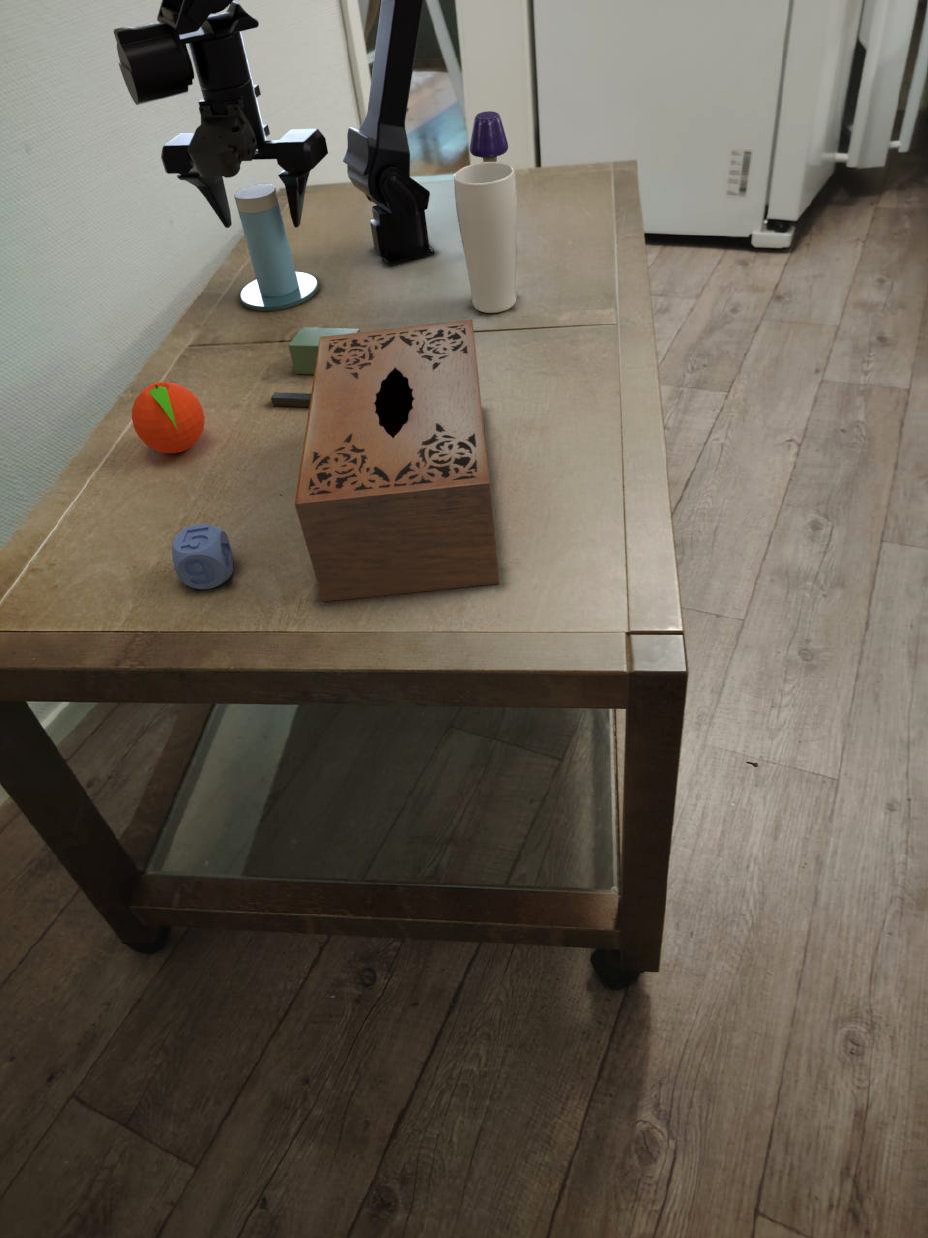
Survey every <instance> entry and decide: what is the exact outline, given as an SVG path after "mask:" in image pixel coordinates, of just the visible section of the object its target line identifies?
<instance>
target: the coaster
mask: <svg viewBox="0 0 928 1238" xmlns="http://www.w3.org/2000/svg"><path fill="white" fill-rule="evenodd" d="M295 272H296V276H297V280H298V288H297V289H296V290H295V291H293V292H292V293H290V294H287V295H284V296H279V297H267V296H264V295H262V294H261V293H260V290H259V286H258V283H257V279H255V280H253V281H251V282H249V283H248V284H246V285H245V286H244V287H243V288H242V290H241V292H240V297H239V298H240V300H241V303H242V304H243V306H244V307H246V308H248V309H251V310H254V311H261V312H273V311H281V310H285V309H290V308H293V307H296V306H298V305H301V304H303V303H305V302H307V301H309V300H310V299H311V298H312V297H314V296H315V295H316V293H317V292H318V289H319V284H318V280H317V279H316V277H315V276H313V274H310V273H307V272H302V271H295Z"/></svg>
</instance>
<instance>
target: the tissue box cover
mask: <svg viewBox="0 0 928 1238" xmlns="http://www.w3.org/2000/svg"><path fill="white" fill-rule="evenodd" d="M474 330H475V329H474V322H473V319H470V318H469V319H463V320H462V319H461V320H455V321H453V320H452V321H445V322H436V323H428V324H420V325H411V326H403V327H402V326H401V327H394V328H384V329H377V330H367V331H360V332H358V333H349V334H341V335H332V336H323V337H320V340H319V346H318V353H317V359H316V366H315V373H314V374H313V379H312V380H313V381H312V387H311V393H310V394H311V399H310V406H309V407H308V412H307V413H308V414H307V420H306V425H305V426H306V427H305V433H304V439H303V446H302V452H301V459H300V467H299V473H298V479H297V484H296V493H295V499H294V507H295V510H296V514H297V517H298V520H299V524H300V528H301V531H302V534H303V538H304V541H305V544H306V548H307V551H308V554H309V558H310V562H311V565H312V568H313V572H314V575H315V578H316V582H317V585H318V589H319V592H320V595H321V598H322V602H323V603H325V602H334V601H343V600H353V599H354V600H355V599H362V598H363V599H364V598H372V597H383V596H391V595H401V594H410V593H411V594H412V593H420V592H431V591H441V590H450V589H458V588H459V589H460V588H469V587H477V586H479V587H481V586H488V585H489V586H490V585H498V584H501V583H500V582H501V581H500V574H499V573H500V572H499V563H498V553H497V552H498V551H497V544H496V542H497V541H496V534H495V533H496V532H495V522H494V513H493V502H492V494H491V493H492V492H491V482H490V473H489V464H488V463H489V462H488V454H487V445H486V438H485V437H486V435H485V426H484V417H483V415H484V414H483V407H482V398H481V397H482V396H481V387H480V380H479V379H480V378H479V370H478V360H477V351H476V349H477V348H476V340H475V339H476V338H475V331H474Z"/></svg>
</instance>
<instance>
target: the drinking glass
mask: <svg viewBox="0 0 928 1238" xmlns="http://www.w3.org/2000/svg"><path fill="white" fill-rule="evenodd" d="M453 187H454V189H453V190H454V199H455V201H454V202H455V210H456V217H457V223H458V228H459V233H460V238H461V244H462V249H463V255H464V259H465V260H464V261H465V266H466V270H467V276H468V282H469V289H470V295H471V296H470V297H471V303H472V306H473V307H474V308H475V310H477V311H479V312H482V313H486V314H496V313H502V312H505V311H507V310H510V309H511V308H512V307H513V306H515V304H516V302H517V245H518V244H517V243H518V241H517V240H518V194H517V193H518V192H517V179H516V171H515V167H513V166H512V165H510V164H509V163H505V162H499V161H497V162H483V161H482V162H477V163H472V164H468V165H466V166H464V167H461V168H460V169H457V171H456V172H455V173H454V175H453Z"/></svg>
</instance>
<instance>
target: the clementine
mask: <svg viewBox="0 0 928 1238" xmlns="http://www.w3.org/2000/svg"><path fill="white" fill-rule="evenodd" d="M205 419H206V418H205V413H204V409H203V406H202V404H201V402H200V400H199V398H198V397H197V396H196V395H195V394H194V393H193V392H192V391H191V390H190V389H189V388H187V387H185V386H183V385H181V384H178V383H174V382H169V381H160V382H155V383H152V384H149V385H148V386H146V387H145V388H144V389H142V391H141V392H140V393H139V394H138V395H137V397H135V399H134V403H133V404H132V409H131V421H132V425H133V429H134V432H135V433H136V435H137V436H138V438H139V439H140V440H141V441H142V443H144V444H145V445H146V446H148V447H149V448H151V449H153V450H155V451H158V452H160V453H165V454H177V453H182V452H185V451H187V450H188V449H190V448H192V447H193V446H194V445H195V444H196V443H197V442H198V441H199V440H200V438H201V436H202V434H203V432H204V428H205V421H206V420H205Z"/></svg>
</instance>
